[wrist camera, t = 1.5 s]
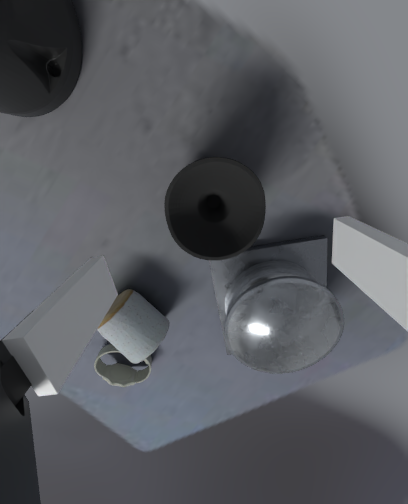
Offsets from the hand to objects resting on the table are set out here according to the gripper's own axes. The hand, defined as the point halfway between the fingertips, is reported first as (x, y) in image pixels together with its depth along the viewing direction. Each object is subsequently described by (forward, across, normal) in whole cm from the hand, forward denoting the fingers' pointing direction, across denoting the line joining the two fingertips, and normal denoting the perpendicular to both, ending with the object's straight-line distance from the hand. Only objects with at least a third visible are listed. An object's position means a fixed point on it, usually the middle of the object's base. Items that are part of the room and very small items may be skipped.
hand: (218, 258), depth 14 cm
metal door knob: (+18, +6, -17) cm, 26 cm away
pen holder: (+19, 0, 0) cm, 19 cm away
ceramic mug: (+19, -15, -16) cm, 29 cm away
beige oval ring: (+19, -18, -24) cm, 36 cm away
